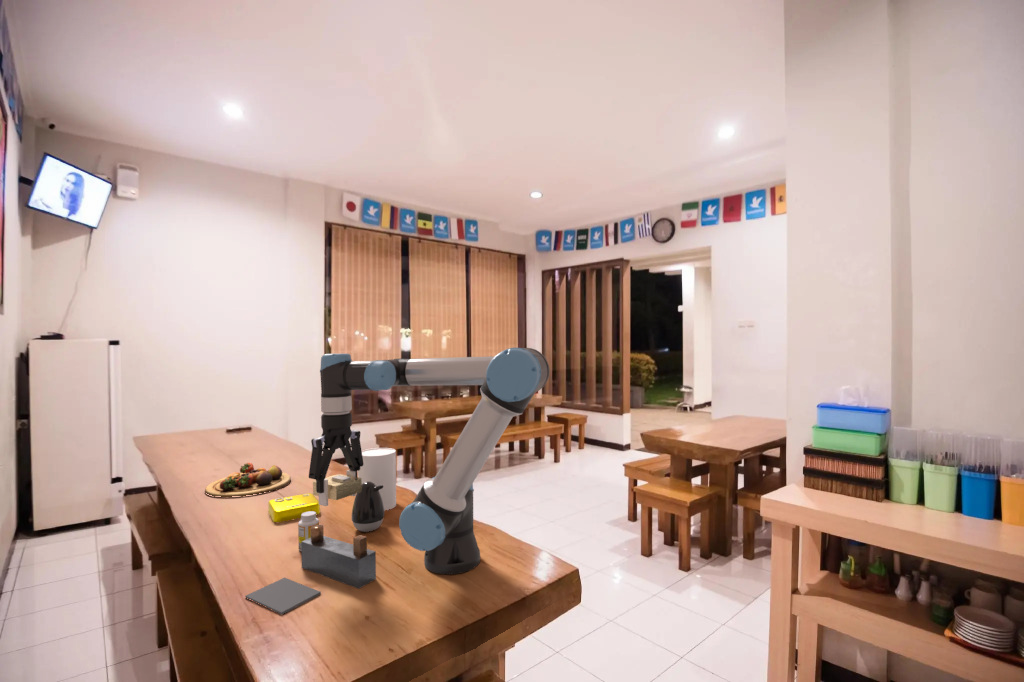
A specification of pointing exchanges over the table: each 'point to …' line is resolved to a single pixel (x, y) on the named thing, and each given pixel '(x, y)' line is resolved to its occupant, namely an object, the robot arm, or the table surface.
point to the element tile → (292, 507)
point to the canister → (381, 473)
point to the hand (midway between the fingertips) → (337, 499)
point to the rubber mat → (283, 595)
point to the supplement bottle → (306, 526)
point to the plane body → (339, 558)
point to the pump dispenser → (368, 508)
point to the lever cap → (341, 486)
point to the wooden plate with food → (249, 482)
